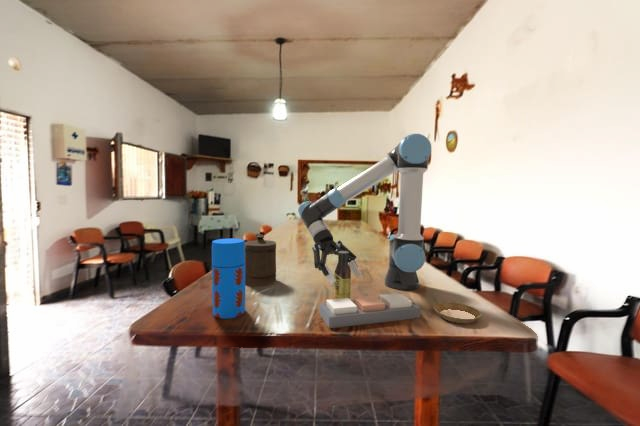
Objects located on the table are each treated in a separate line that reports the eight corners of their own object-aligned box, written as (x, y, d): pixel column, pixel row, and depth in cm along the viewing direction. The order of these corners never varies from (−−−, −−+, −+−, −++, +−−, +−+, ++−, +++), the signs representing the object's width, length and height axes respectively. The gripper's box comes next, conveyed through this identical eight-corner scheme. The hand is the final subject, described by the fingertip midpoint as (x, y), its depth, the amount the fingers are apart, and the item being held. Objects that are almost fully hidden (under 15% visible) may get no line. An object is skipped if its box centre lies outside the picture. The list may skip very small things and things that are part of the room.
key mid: (374, 302, 109) (374, 295, 109) (384, 310, 101) (385, 303, 101) (353, 304, 107) (353, 297, 107) (362, 313, 99) (362, 305, 99)
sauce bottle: (332, 300, 119) (333, 249, 117) (348, 299, 119) (349, 249, 118) (335, 306, 112) (335, 253, 111) (351, 306, 113) (352, 253, 111)
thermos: (227, 321, 98) (226, 244, 96) (205, 314, 104) (204, 241, 102) (251, 310, 107) (251, 240, 106) (230, 304, 113) (230, 237, 111)
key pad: (401, 304, 114) (401, 295, 114) (419, 318, 103) (420, 307, 103) (318, 313, 106) (319, 303, 106) (329, 328, 94) (329, 317, 94)
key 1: (348, 304, 106) (348, 297, 106) (356, 313, 99) (357, 306, 99) (326, 306, 104) (326, 299, 104) (333, 316, 97) (333, 308, 96)
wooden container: (282, 279, 144) (282, 233, 143) (261, 288, 132) (261, 237, 130) (258, 275, 152) (258, 231, 150) (236, 282, 139) (236, 234, 138)
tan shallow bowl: (426, 309, 111) (426, 302, 111) (465, 308, 112) (465, 301, 112) (446, 327, 97) (446, 319, 96) (490, 326, 98) (490, 318, 98)
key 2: (399, 300, 112) (399, 293, 112) (411, 308, 104) (411, 301, 104) (379, 301, 110) (379, 295, 109) (390, 310, 102) (390, 303, 102)
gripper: (338, 237, 134) (363, 278, 123) (291, 243, 118) (316, 291, 107) (347, 226, 129) (374, 268, 119) (300, 230, 113) (326, 280, 103)
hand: (346, 279), depth 113 cm, fingers open, 13 cm apart
